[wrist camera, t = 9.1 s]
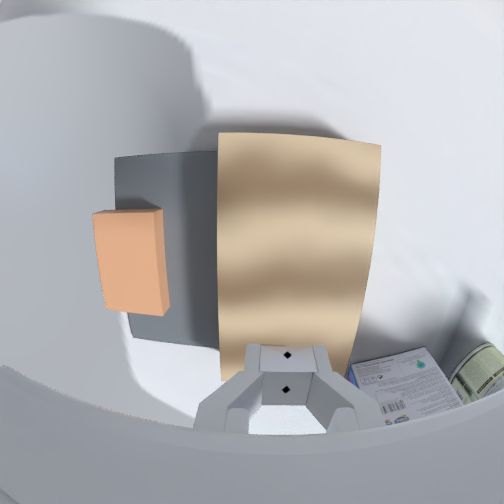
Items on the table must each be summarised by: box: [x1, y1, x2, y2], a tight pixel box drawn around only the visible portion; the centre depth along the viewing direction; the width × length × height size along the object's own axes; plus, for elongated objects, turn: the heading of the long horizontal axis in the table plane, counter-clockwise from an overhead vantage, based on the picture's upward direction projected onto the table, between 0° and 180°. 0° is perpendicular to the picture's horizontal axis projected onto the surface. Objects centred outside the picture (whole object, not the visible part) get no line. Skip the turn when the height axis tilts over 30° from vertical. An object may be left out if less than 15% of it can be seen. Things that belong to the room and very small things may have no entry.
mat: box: [115, 152, 220, 348], centre depth 23 cm, size 18×10×1 cm, turn 178°
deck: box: [217, 133, 381, 381], centre depth 21 cm, size 20×11×4 cm, turn 178°
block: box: [93, 209, 170, 316], centre depth 22 cm, size 9×6×2 cm, turn 179°
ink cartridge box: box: [348, 347, 464, 426], centre depth 19 cm, size 10×6×14 cm, turn 98°
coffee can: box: [449, 343, 504, 405], centre depth 20 cm, size 10×10×14 cm
